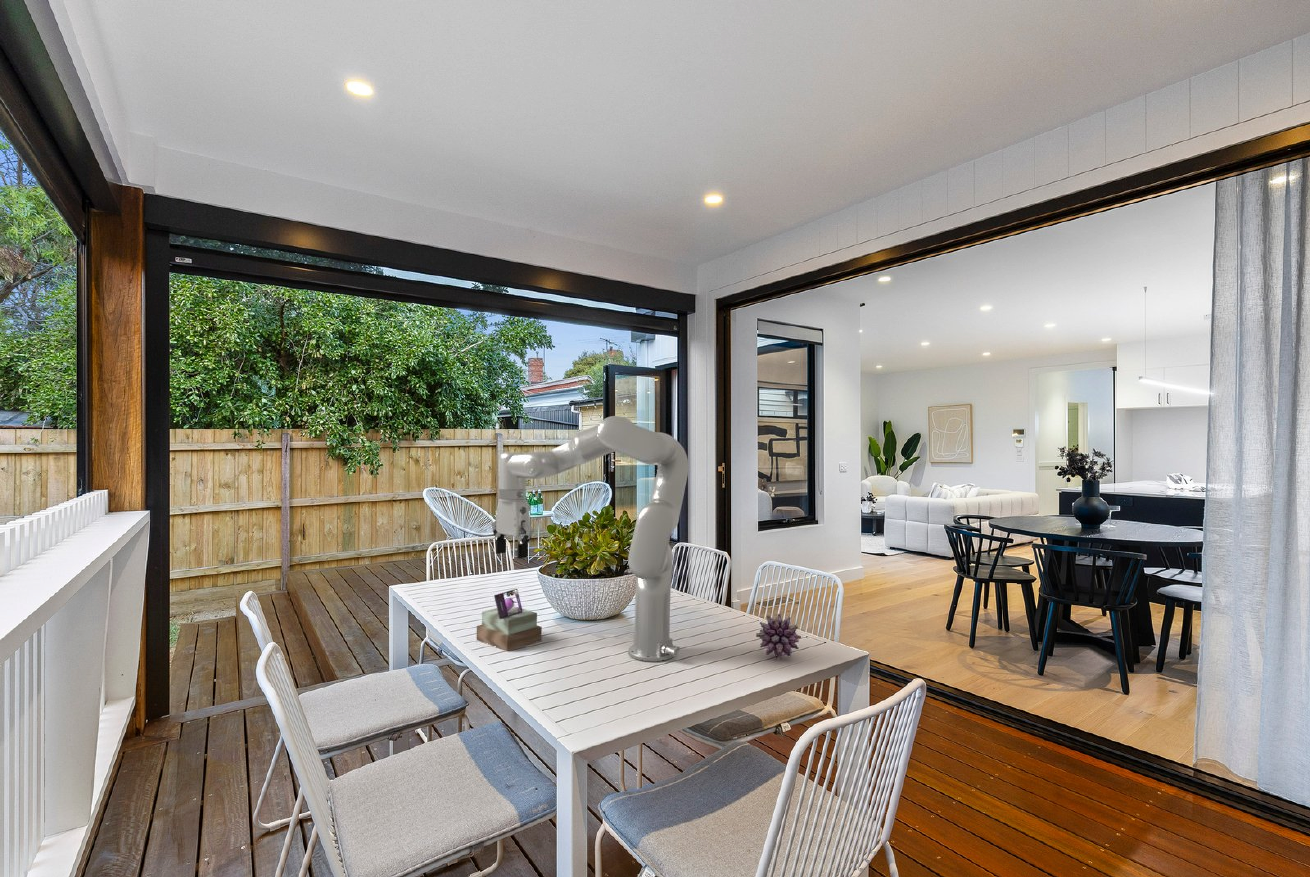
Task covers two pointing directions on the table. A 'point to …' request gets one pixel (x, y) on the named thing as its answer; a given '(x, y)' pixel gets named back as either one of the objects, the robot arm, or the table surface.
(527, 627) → the tower stack
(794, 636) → the purple spiky ball
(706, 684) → the table surface
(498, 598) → the purple product box
